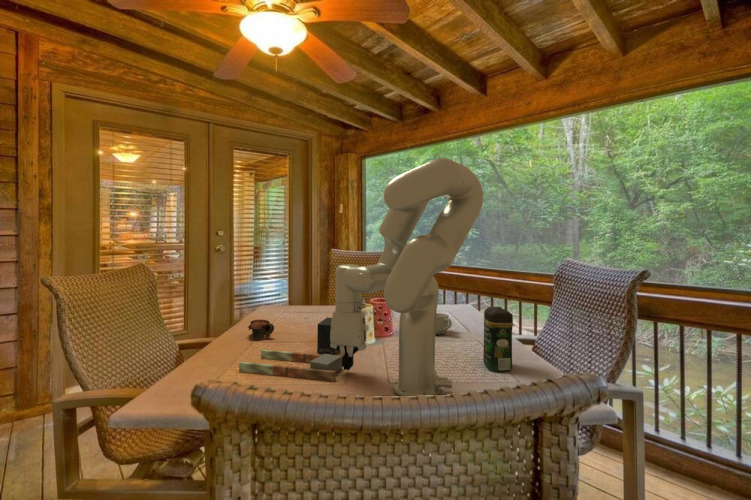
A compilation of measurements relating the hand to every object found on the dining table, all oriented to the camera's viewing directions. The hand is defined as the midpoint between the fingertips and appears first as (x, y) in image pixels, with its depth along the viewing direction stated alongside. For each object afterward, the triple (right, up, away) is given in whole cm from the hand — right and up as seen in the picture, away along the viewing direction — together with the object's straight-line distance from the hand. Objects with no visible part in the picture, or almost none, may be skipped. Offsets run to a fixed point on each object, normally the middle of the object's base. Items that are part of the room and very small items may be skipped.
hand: (347, 368), depth 111 cm
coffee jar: (+46, -2, +6) cm, 46 cm away
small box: (-8, -1, +22) cm, 23 cm away
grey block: (-7, -2, +2) cm, 7 cm away
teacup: (+34, 0, +44) cm, 55 cm away
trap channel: (-16, -1, +4) cm, 17 cm away
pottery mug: (-37, 0, +37) cm, 52 cm away
